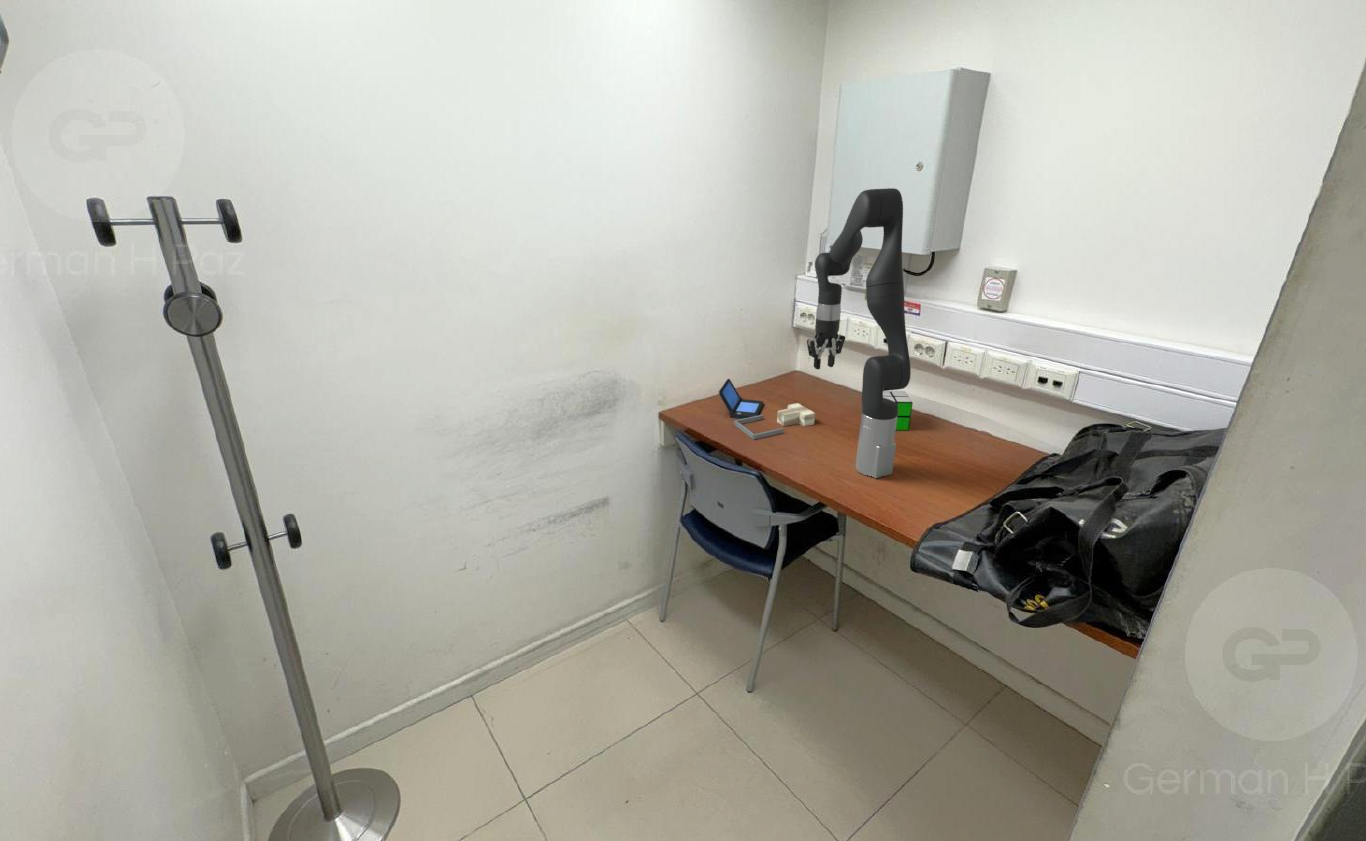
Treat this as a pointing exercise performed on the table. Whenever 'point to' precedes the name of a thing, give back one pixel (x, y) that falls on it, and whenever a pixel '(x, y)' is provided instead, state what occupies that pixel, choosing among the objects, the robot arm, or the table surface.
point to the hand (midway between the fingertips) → (823, 367)
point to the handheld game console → (738, 402)
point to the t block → (796, 415)
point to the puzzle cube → (901, 408)
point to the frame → (749, 433)
